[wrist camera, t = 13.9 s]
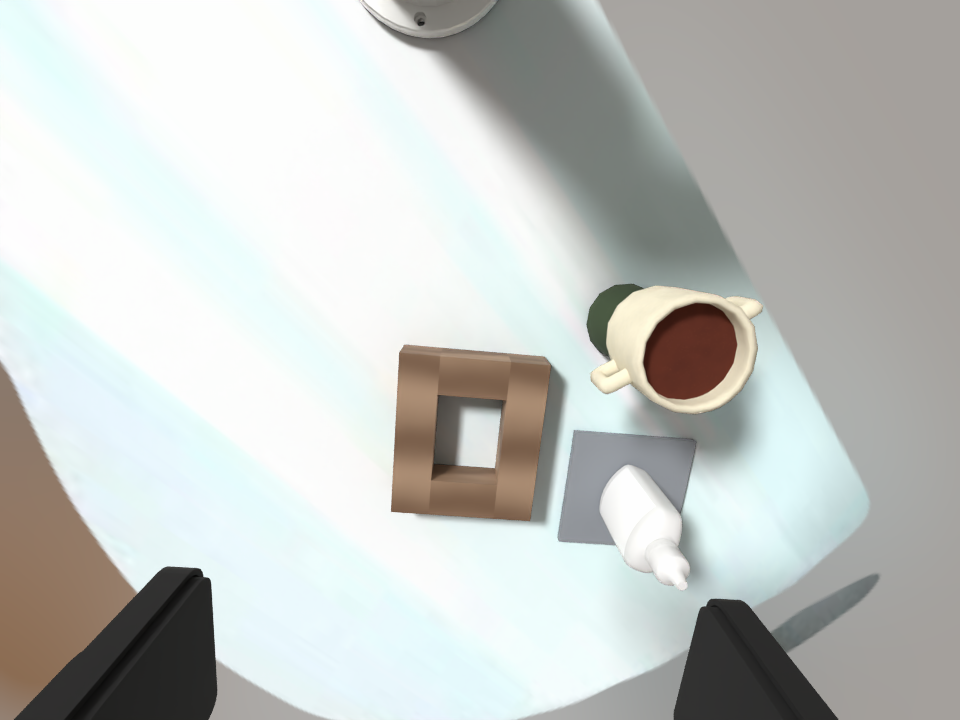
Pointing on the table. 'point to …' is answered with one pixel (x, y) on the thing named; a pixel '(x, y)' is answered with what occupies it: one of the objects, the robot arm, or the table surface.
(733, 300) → the character mug
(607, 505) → the eye dropper bottle
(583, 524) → the slate mat
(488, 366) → the walnut dock
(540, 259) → the table surface
